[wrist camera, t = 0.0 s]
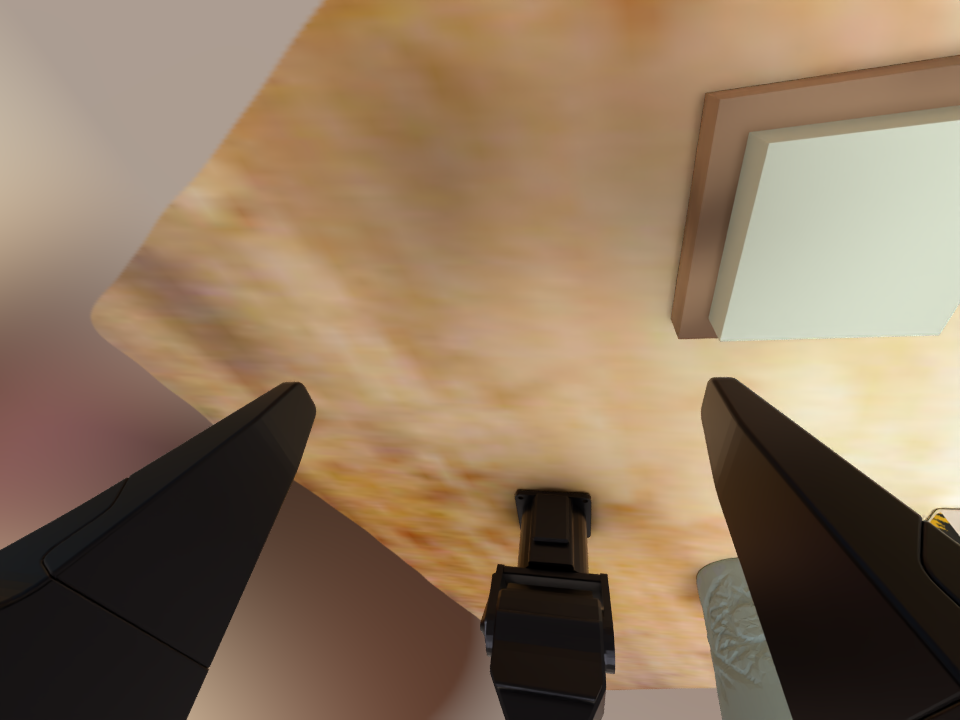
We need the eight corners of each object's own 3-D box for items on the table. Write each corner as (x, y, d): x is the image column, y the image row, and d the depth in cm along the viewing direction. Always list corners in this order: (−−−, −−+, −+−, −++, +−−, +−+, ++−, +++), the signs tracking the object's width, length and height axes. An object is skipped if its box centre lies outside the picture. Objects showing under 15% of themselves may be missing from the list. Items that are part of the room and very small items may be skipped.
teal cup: (720, 543, 36) (772, 717, 27) (835, 568, 36) (928, 753, 27) (672, 589, 43) (701, 741, 34) (769, 610, 43) (826, 770, 33)
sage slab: (908, 310, 19) (939, 335, 17) (708, 318, 21) (719, 341, 19) (1029, 96, 14) (1087, 104, 12) (749, 132, 16) (769, 143, 14)
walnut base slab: (901, 309, 21) (927, 331, 19) (671, 318, 23) (678, 339, 22) (1048, 41, 14) (1106, 43, 13) (705, 93, 17) (720, 99, 15)
